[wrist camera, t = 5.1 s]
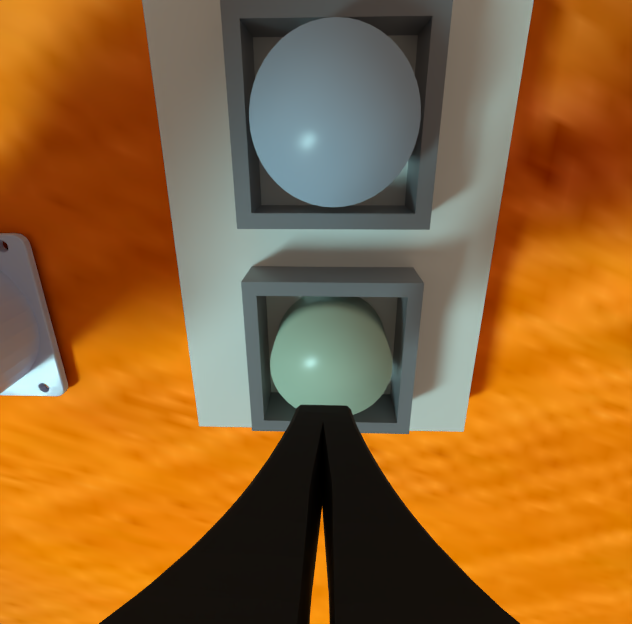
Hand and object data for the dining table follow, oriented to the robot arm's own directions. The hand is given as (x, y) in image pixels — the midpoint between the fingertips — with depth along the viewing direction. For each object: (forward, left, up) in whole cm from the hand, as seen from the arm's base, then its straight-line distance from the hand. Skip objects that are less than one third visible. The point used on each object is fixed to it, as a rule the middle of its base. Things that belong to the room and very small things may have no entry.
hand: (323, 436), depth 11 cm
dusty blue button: (0, +8, -5) cm, 9 cm away
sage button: (0, 0, -6) cm, 6 cm away
